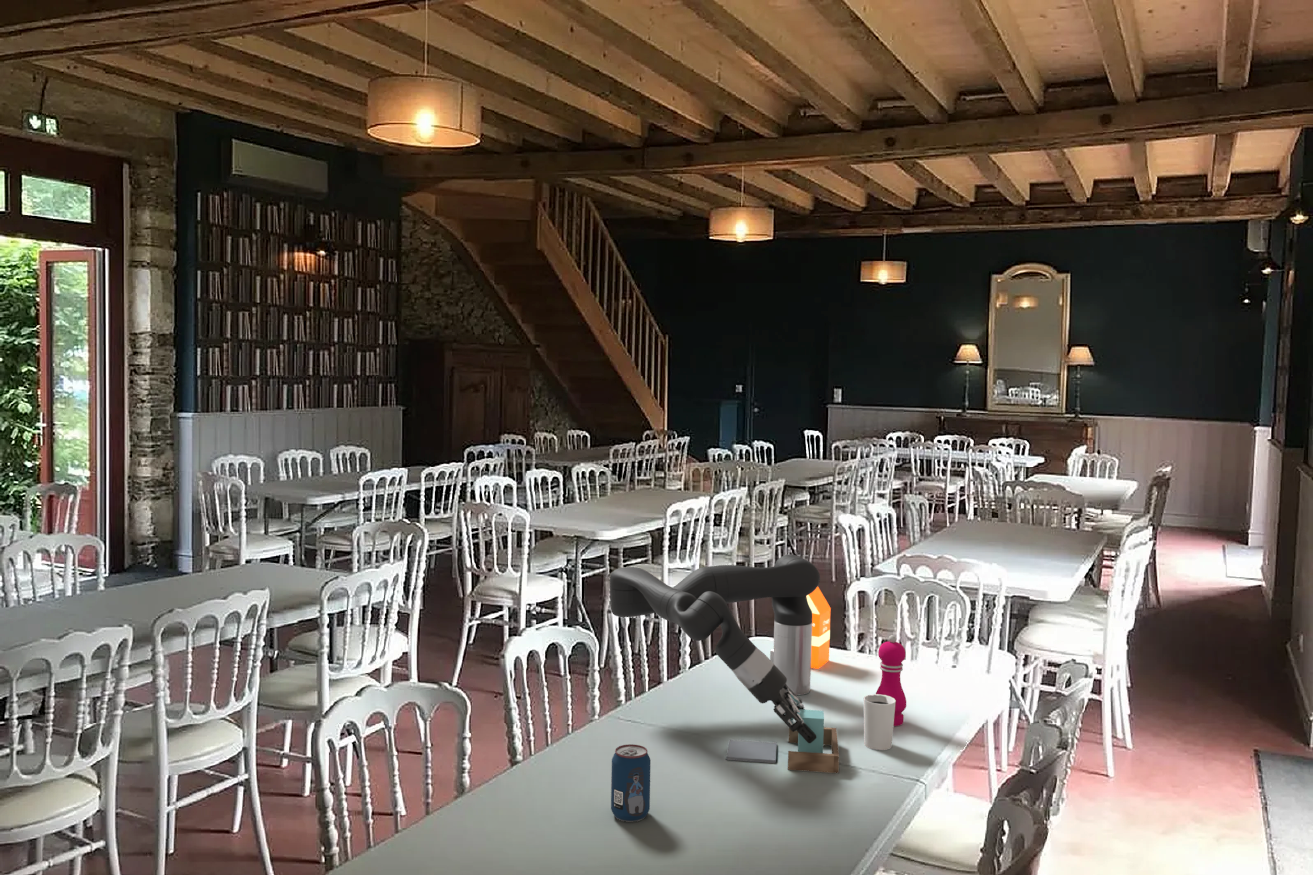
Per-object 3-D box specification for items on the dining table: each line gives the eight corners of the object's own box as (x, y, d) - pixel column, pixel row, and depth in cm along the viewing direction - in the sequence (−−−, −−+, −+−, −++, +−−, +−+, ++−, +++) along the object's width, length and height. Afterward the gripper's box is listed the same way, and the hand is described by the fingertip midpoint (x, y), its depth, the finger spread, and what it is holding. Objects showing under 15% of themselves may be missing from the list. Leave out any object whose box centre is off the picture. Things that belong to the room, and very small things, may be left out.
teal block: (797, 760, 219) (799, 717, 218) (797, 751, 224) (799, 709, 223) (822, 762, 218) (824, 719, 218) (822, 752, 223) (823, 710, 222)
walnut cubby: (787, 769, 214) (788, 752, 213) (788, 740, 230) (788, 725, 229) (838, 773, 212) (839, 756, 212) (835, 744, 228) (836, 728, 228)
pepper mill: (897, 729, 238) (900, 641, 236) (867, 722, 242) (870, 635, 240) (910, 721, 243) (914, 634, 242) (881, 714, 248) (884, 629, 246)
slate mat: (726, 759, 218) (726, 756, 218) (729, 742, 228) (729, 739, 228) (775, 763, 217) (775, 760, 217) (776, 745, 227) (776, 742, 227)
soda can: (628, 803, 196) (629, 740, 195) (657, 814, 192) (658, 749, 191) (602, 816, 191) (603, 750, 190) (632, 827, 187) (633, 760, 186)
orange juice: (790, 664, 286) (793, 590, 284) (802, 656, 293) (804, 584, 292) (818, 669, 282) (821, 594, 280) (829, 660, 290) (832, 587, 288)
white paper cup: (894, 752, 224) (895, 705, 223) (861, 749, 226) (863, 703, 225) (893, 741, 231) (895, 695, 230) (862, 738, 232) (863, 693, 231)
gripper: (747, 676, 229) (799, 732, 228) (743, 697, 214) (799, 757, 214) (773, 653, 227) (825, 709, 227) (771, 673, 213) (827, 733, 213)
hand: (813, 732), depth 220 cm, fingers open, 8 cm apart
